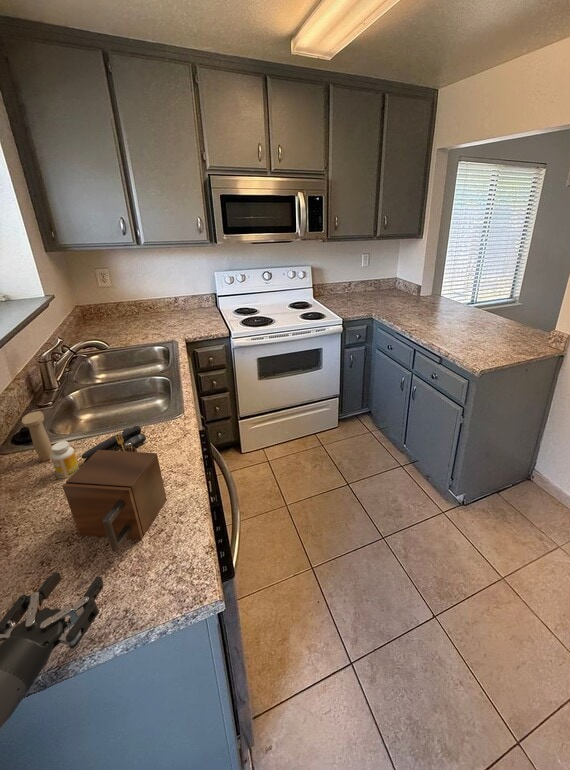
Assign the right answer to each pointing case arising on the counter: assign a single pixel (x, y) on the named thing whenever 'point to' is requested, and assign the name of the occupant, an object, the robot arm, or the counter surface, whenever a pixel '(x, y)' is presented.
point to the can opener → (128, 435)
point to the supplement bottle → (64, 459)
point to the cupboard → (127, 479)
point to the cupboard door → (104, 512)
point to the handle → (38, 434)
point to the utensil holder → (129, 449)
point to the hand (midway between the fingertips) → (79, 577)
